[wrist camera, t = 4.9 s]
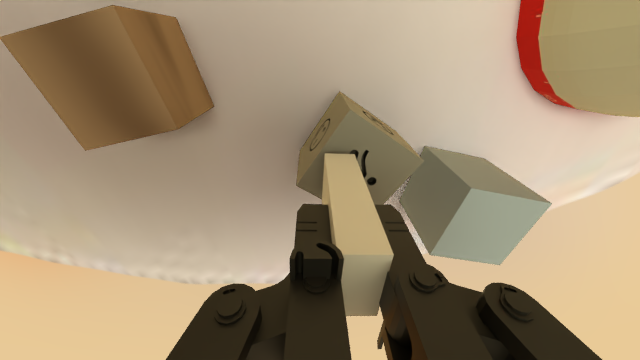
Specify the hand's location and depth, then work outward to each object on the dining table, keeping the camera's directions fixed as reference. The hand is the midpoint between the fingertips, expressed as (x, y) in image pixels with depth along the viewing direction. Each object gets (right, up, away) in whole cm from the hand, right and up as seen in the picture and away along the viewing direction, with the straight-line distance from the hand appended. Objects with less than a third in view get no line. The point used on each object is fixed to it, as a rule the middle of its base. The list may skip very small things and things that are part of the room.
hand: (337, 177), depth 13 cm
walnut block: (-11, +6, +2) cm, 13 cm away
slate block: (+9, 0, +7) cm, 11 cm away
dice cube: (+1, +3, +5) cm, 6 cm away
